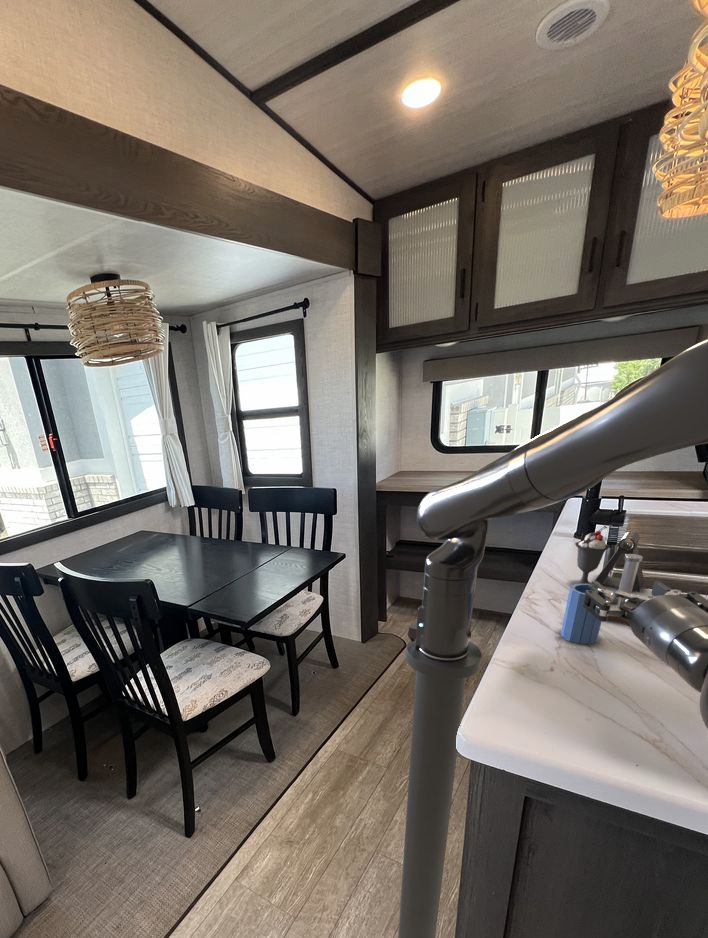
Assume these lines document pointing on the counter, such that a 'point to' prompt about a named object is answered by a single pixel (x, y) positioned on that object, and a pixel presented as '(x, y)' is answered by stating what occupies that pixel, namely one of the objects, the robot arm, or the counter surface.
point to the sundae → (590, 554)
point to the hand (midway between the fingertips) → (623, 587)
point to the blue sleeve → (579, 618)
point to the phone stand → (622, 548)
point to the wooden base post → (627, 581)
